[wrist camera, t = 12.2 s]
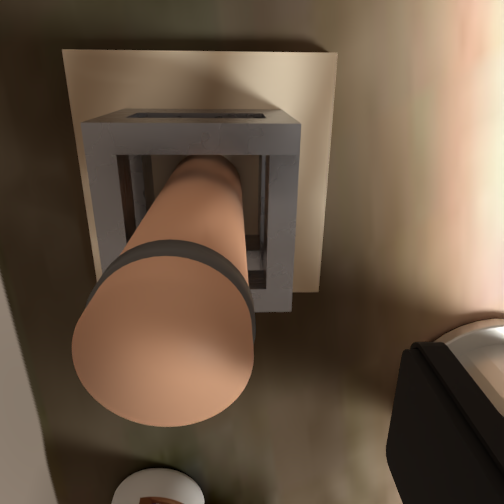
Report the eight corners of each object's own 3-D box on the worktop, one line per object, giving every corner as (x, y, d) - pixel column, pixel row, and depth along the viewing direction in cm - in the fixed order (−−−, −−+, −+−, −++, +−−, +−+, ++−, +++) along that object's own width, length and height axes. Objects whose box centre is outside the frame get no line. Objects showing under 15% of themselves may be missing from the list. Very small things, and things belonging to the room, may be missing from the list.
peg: (257, 186, 24) (296, 355, 9) (207, 235, 25) (172, 456, 10) (204, 133, 23) (153, 232, 8) (154, 186, 24) (27, 360, 9)
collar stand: (331, 54, 23) (382, 43, 15) (314, 281, 29) (345, 359, 21) (72, 50, 22) (-14, 38, 15) (105, 283, 28) (56, 365, 20)
